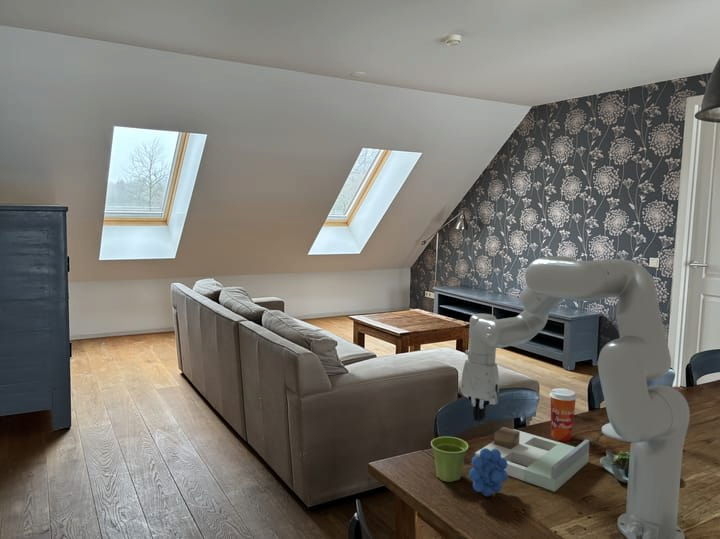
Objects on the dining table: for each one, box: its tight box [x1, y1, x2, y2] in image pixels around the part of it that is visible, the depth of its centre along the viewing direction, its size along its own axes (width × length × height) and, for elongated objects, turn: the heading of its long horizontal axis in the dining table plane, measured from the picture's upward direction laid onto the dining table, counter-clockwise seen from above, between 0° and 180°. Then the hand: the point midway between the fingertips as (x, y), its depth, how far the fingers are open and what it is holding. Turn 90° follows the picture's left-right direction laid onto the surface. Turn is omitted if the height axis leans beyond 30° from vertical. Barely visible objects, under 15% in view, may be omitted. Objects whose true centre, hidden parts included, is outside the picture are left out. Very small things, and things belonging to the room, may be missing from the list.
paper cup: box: [549, 387, 578, 442], centre depth 167 cm, size 8×8×14 cm
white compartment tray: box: [474, 428, 590, 493], centre depth 150 cm, size 22×22×6 cm
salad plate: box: [599, 449, 630, 486], centre depth 146 cm, size 19×18×5 cm
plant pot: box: [430, 436, 469, 483], centre depth 142 cm, size 9×9×9 cm
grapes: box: [468, 447, 509, 497], centre depth 131 cm, size 12×7×12 cm, turn 120°
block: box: [493, 426, 520, 449], centre depth 155 cm, size 5×5×4 cm
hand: (478, 419), depth 161 cm, fingers closed
